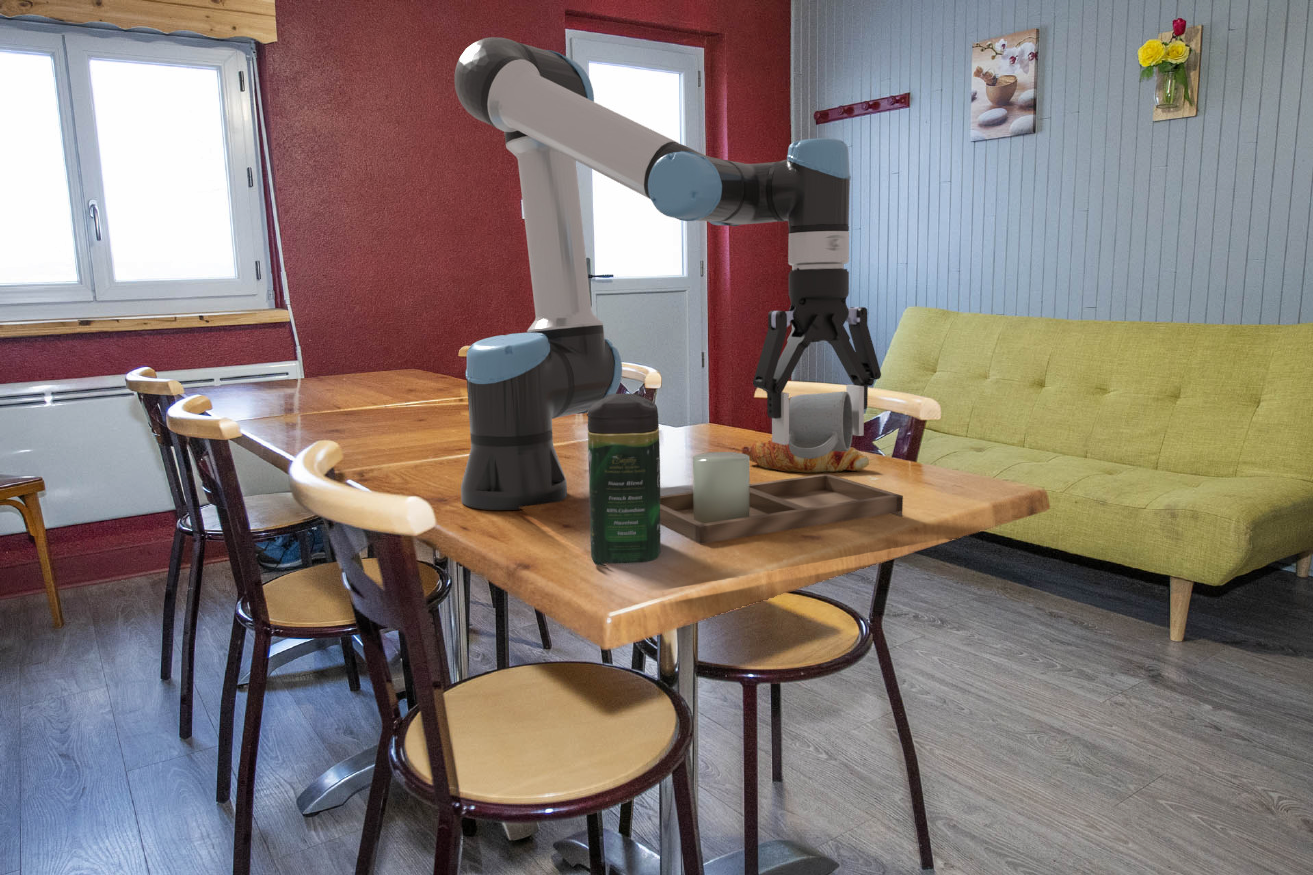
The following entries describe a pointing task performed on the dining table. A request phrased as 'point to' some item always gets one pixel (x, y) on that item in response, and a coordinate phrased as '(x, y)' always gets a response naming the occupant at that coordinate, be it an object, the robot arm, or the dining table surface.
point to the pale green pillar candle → (721, 486)
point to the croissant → (784, 460)
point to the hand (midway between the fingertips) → (818, 438)
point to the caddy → (783, 508)
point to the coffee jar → (624, 479)
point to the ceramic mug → (820, 424)
